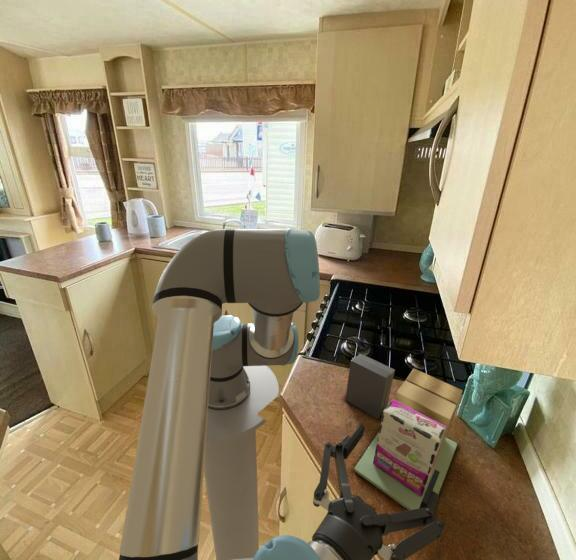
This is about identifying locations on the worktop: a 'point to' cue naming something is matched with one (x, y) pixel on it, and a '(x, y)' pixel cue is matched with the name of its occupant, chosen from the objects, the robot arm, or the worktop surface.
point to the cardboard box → (430, 399)
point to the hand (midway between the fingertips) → (396, 450)
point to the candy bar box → (408, 445)
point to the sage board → (395, 487)
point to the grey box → (369, 385)
